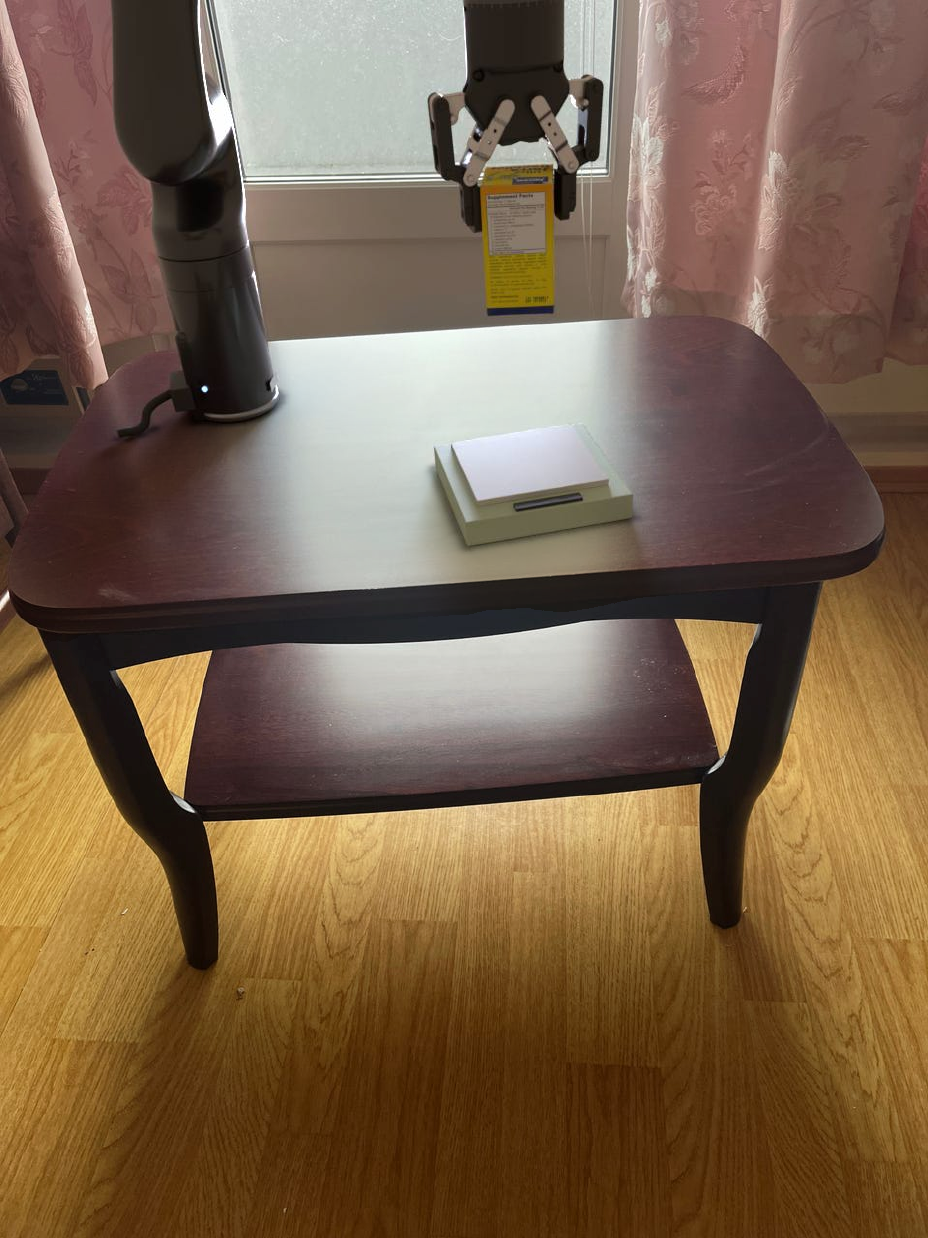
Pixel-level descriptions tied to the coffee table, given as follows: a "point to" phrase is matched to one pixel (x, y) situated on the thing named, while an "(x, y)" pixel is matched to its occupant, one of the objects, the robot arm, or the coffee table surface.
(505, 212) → the supplement box
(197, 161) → the robot arm
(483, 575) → the coffee table surface
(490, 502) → the scale
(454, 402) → the coffee table surface
